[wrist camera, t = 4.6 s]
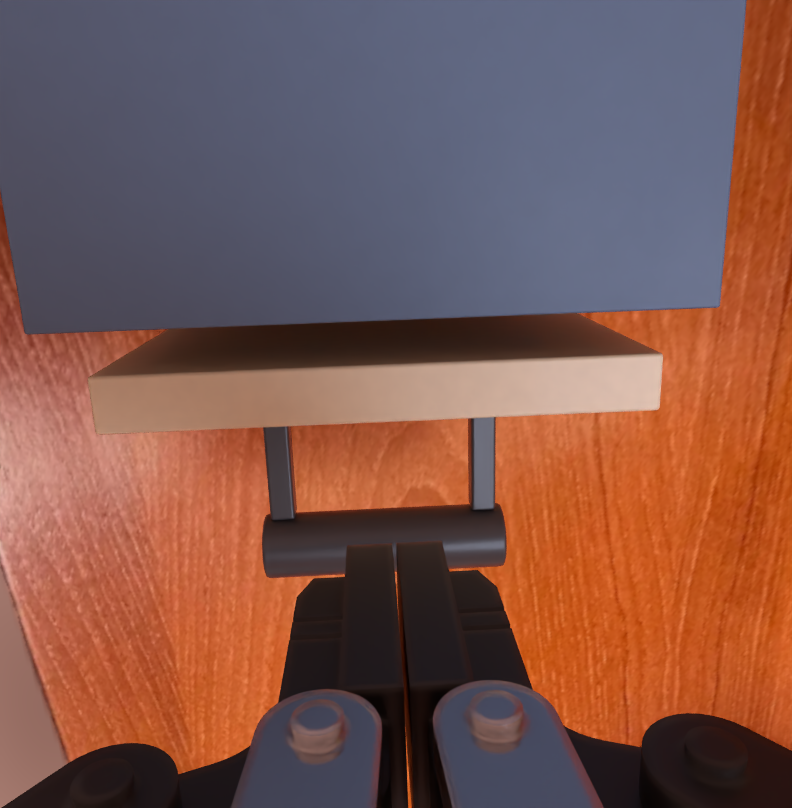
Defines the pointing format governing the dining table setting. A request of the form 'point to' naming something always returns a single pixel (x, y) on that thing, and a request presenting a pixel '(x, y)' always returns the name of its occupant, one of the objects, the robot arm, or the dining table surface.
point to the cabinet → (363, 158)
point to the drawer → (375, 408)
